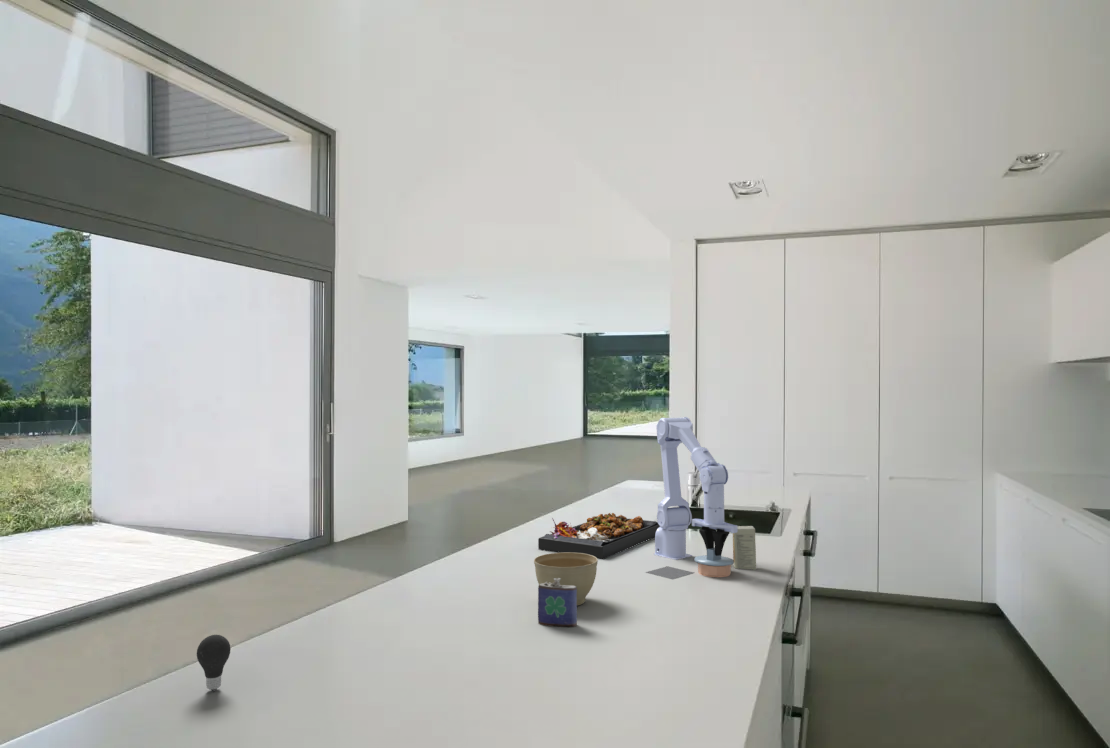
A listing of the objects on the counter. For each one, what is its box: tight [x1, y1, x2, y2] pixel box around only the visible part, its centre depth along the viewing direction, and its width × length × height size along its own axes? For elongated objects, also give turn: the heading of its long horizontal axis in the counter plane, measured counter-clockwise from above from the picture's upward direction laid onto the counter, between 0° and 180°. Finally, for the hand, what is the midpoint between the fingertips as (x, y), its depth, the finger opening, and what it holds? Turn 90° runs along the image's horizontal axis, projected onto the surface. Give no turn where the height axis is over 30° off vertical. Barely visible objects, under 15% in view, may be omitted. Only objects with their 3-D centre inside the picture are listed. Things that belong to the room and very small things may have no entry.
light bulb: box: [196, 634, 231, 692], centre depth 133 cm, size 6×6×10 cm
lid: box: [694, 547, 734, 566], centre depth 210 cm, size 11×11×4 cm
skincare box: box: [732, 525, 757, 571], centre depth 217 cm, size 6×4×12 cm
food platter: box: [537, 512, 660, 560], centre depth 254 cm, size 45×25×10 cm, turn 147°
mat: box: [644, 566, 695, 580], centre depth 211 cm, size 10×10×1 cm
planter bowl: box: [533, 552, 599, 606], centre depth 185 cm, size 16×16×11 cm
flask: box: [537, 578, 578, 628], centre depth 168 cm, size 9×3×11 cm, turn 74°
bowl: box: [697, 563, 732, 578], centre depth 210 cm, size 9×9×3 cm
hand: (714, 554), depth 210 cm, fingers closed on lid, 2 cm apart
